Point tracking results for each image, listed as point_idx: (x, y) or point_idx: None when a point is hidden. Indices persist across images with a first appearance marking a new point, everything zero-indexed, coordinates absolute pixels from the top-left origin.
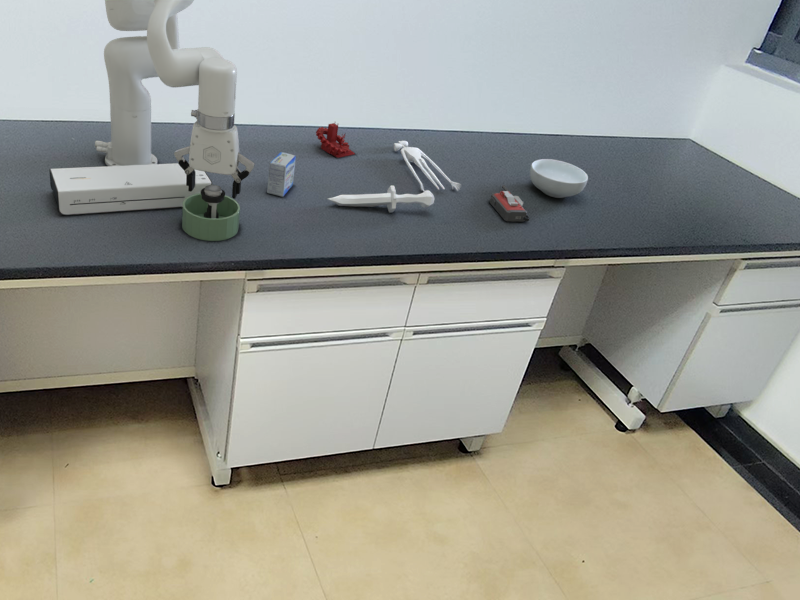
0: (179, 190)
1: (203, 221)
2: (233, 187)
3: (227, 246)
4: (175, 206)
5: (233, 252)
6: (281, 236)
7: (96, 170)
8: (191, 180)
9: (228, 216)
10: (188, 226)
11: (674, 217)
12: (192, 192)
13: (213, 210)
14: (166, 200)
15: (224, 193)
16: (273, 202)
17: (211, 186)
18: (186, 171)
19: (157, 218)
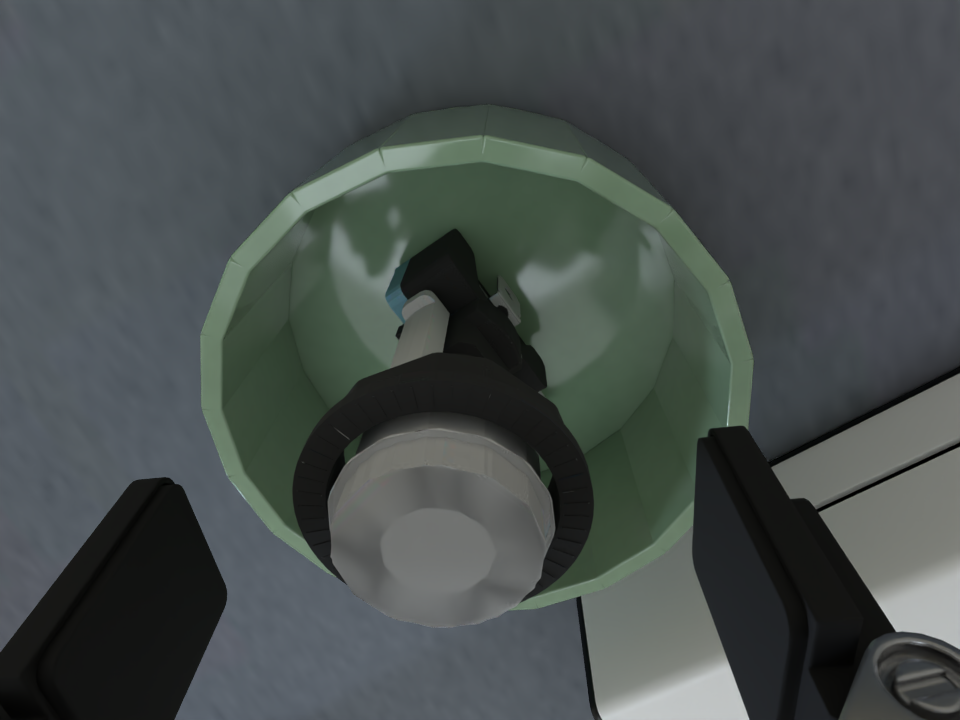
0: None
1: (446, 133)
2: (71, 597)
3: (241, 97)
4: (788, 461)
5: (150, 18)
6: (11, 404)
7: None
8: (766, 549)
9: (237, 300)
10: (608, 152)
11: None
12: None
13: (415, 342)
14: (878, 464)
15: (314, 538)
16: (270, 699)
17: (477, 582)
18: (950, 691)
19: (888, 275)
